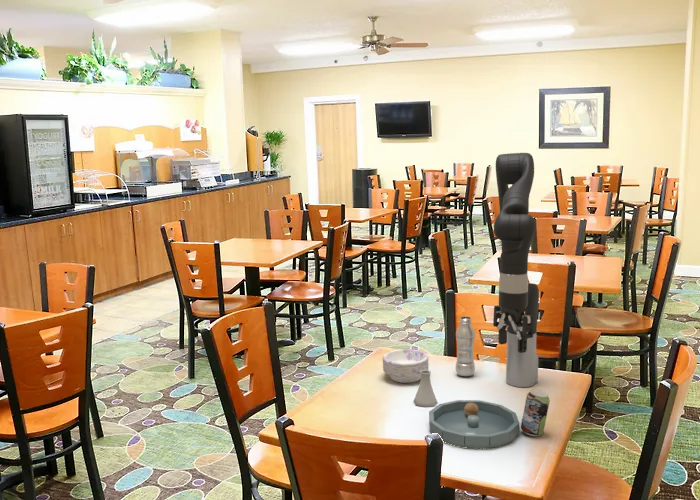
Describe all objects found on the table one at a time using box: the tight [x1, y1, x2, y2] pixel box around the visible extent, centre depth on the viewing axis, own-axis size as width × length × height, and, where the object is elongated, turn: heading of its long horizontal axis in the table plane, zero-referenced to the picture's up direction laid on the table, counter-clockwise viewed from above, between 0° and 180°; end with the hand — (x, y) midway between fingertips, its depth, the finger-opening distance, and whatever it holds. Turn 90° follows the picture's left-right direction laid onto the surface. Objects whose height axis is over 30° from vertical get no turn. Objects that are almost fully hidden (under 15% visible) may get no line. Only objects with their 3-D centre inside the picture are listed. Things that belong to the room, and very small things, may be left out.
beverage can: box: [520, 388, 551, 437], centre depth 182 cm, size 6×7×12 cm
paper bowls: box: [382, 348, 429, 384], centre depth 226 cm, size 15×15×8 cm
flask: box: [413, 369, 438, 408], centre depth 204 cm, size 7×7×10 cm
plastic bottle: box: [455, 316, 476, 377], centre depth 226 cm, size 6×7×20 cm
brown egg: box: [464, 402, 478, 416], centre depth 192 cm, size 4×4×4 cm
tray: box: [428, 399, 520, 450], centre depth 186 cm, size 24×24×4 cm
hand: (512, 347), depth 182 cm, fingers open, 8 cm apart
